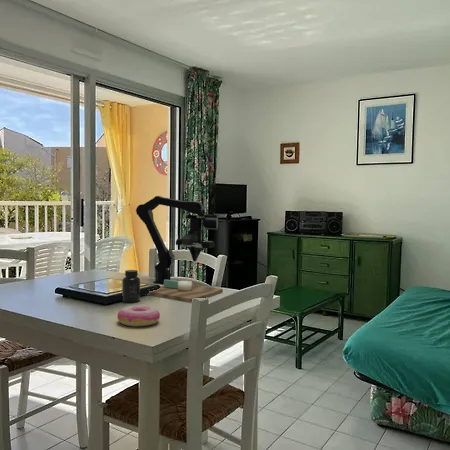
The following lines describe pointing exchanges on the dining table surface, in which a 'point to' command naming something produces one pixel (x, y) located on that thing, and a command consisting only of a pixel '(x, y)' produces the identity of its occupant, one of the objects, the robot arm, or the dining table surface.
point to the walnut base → (185, 293)
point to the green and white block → (178, 284)
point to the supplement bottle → (131, 287)
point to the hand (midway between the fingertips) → (194, 261)
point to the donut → (138, 315)
